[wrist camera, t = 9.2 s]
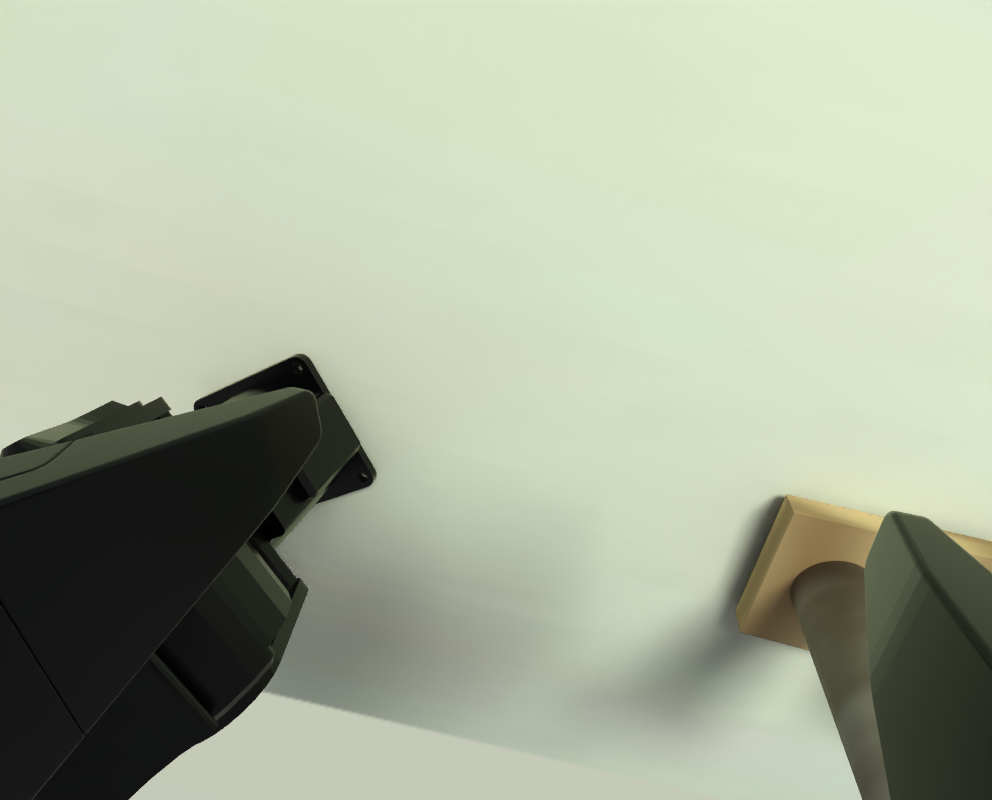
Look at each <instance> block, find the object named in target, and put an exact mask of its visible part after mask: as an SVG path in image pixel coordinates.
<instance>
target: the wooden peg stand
mask: <svg viewBox="0 0 992 800" xmlns="http://www.w3.org/2000/svg"><path fill="white" fill-rule="evenodd" d="M883 519H884V517H882V516H878V515H873V514H869V513H865V512H860V511H856V510H852V509H847V508H843V507H839V506H834V505H830V504H826V503H821V502H817V501H812V500H808V499H804V498H799V497H795V496H791V495H786V496H785V498H784V501H783V503H782V505H781V508H780V510H779V512H778V514H777V517H776V519H775V521H774V523H773V526H772V528H771V530H770V533H769V535H768V537H767V539H766V542H765V544H764V546H763V549H762V551H761V553H760V555H759V558H758V560H757V562H756V565H755V567H754V569H753V571H752V574H751V576H750V578H749V581H748V583H747V585H746V587H745V590H744V592H743V594H742V596H741V599H740V601H739V603H738V606H737V608H736V610H735V612H736V616H737V621H738V625H739V629H740V632H741V633H745V634H749V635H752V636H756V637H760V638H764V639H768V640H772V641H775V642H779V643H783V644H787V645H791V646H794V647H798V648H802V649H806V650H809V651H810V653H811V656H812V659H813V662H814V665H815V667H816V670H817V673H818V676H819V679H820V682H821V684H822V687H823V690H824V693H825V696H826V698H827V701H828V704H829V707H830V710H831V712H832V715H833V718H834V721H835V724H836V727H837V729H838V732H839V735H840V738H841V741H842V743H843V746H844V749H845V752H846V755H847V757H848V760H849V763H850V766H851V769H852V772H853V774H854V777H855V780H856V783H857V786H858V788H859V791H860V794H861V797H862V800H890V797H889V791H888V785H887V780H886V774H885V769H884V763H883V757H882V752H881V746H880V740H879V735H878V729H877V723H876V718H875V712H874V707H873V701H872V694H871V688H870V681H869V667H868V646H867V623H866V599H865V564H866V559H867V556H868V554H869V551H870V549H871V547H872V544H873V542H874V539H875V537H876V535H877V532H878V530H879V528H880V525H881V523H882V521H883ZM942 531H943V530H942ZM943 532H945V533H946V534H947V535H948V536H949V537H951V538H952V539H953V540H954V541H955V542H956V543H958V544H959V545H960V546H961V547H962V548H963V549H965V550H966V551H967V552H968V553H969V554H971V555H972V556H973V557H974V558H975V559H976V560H978V561H979V562H980V563H981V564H982V565H983V566H985V567H986V568H987V569H988V570H989V571H991V572H992V542H991V541H987V540H982V539H978V538H974V537H969V536H965V535H961V534H956V533H952V532H948V531H943Z"/></svg>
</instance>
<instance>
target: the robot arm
mask: <svg viewBox="0 0 992 800" xmlns="http://www.w3.org/2000/svg"><path fill="white" fill-rule="evenodd" d="M296 363H299V364H300V365H301V366H302V368H303V371H302V370H300V369H299V368H298V367H297V364H296ZM205 406H206V407H207V408H205ZM170 410H171V408H170V407H169V406H168V404H167V403H166V402H165V401H164V399H163V398H162V397H160V398H158V399H156V400H154V401H152V402H150V403H148V404H146V405H144V406H143V405H142V403H141V402H140V401H138V402H136V403H134V404H132V405H130V406H126V405H123V404H120V403H117V402H115V401H111V402H109V403H107V404H105V405H103V406H101V407H99V408H97V409H95V410H93V411H91V412H89V413H86V414H84V415H82V416H80V417H78V418H76V419H74V420H72V421H69V422H67V423H64V424H61V425H59V426H56V427H53V428H50V429H47V430H44V431H41V432H39V433H36V434H33V435H30V436H27V437H25V438H23V439H20V440H18V441H16V442H15V443H13V444H11V445H9V446H7V447H6V448H4V449H2V451H1V455H0V800H129V799H130V798H131V797H132V796H133V795H134V794H135V793H136V792H137V791H138V790H139V789H140V788H141V787H142V786H143V785H144V784H146V783H147V782H148V781H149V780H150V779H151V778H152V777H153V776H155V775H156V774H157V773H158V772H160V771H161V770H162V769H163V768H165V766H167V765H168V764H169V763H171V762H172V761H173V760H174V759H175V758H177V757H178V756H179V755H181V754H182V753H184V752H185V751H187V750H188V749H190V748H191V747H192V746H194V745H196V744H198V743H201V742H202V741H204V740H206V739H208V738H209V737H211V736H213V735H214V734H216V733H217V732H218V731H220V730H221V729H223V728H224V727H225V726H227V725H228V724H229V723H231V722H232V721H233V720H234V719H235V718H236V717H238V716H239V715H240V714H241V713H242V712H243V711H244V710H245V709H246V708H247V707H248V706H249V705H250V704H251V703H252V702H253V701H254V700H255V699H256V698H257V697H258V695H259V694H260V693H261V692H262V691H263V689H264V688H265V687H266V686H267V684H268V683H269V681H270V680H271V678H272V677H273V675H274V674H275V672H276V670H277V668H278V666H279V664H280V662H281V659H282V656H283V654H284V651H285V649H286V646H287V644H288V641H289V638H290V636H291V633H292V631H293V628H294V626H295V623H296V620H297V618H298V615H299V613H300V610H301V608H302V605H303V602H304V600H305V597H306V595H307V592H308V588H307V587H306V585H305V584H304V583H303V581H302V580H301V579H300V578H296V577H295V576H294V574H293V573H292V572H291V570H290V569H289V568H288V567H287V565H286V564H285V563H284V561H283V560H282V559H281V557H280V556H279V555H278V553H277V552H276V551H275V549H276V548H277V547H278V546H279V545H280V543H281V542H282V541H283V540H284V539H285V538H286V537H287V535H288V534H289V533H290V532H291V531H292V530H293V529H294V528H295V526H296V525H297V524H298V523H299V522H300V521H301V520H302V518H303V517H304V516H305V515H306V514H307V513H308V512H309V510H310V509H311V508H312V507H313V506H314V505H315V504H317V503H320V502H323V501H326V500H329V499H332V498H335V497H338V496H341V495H344V494H347V493H350V492H353V491H356V490H359V489H362V488H365V487H368V486H370V485H371V484H372V483H373V481H374V480H375V478H376V474H377V473H376V471H375V469H374V467H373V465H372V463H371V462H370V460H369V458H368V457H367V455H366V453H365V452H364V450H363V448H362V446H361V445H360V441H359V440H358V438H357V436H356V435H355V433H354V431H353V429H352V428H351V426H350V424H349V423H348V421H347V419H346V418H345V416H344V414H343V412H342V411H341V409H340V407H339V406H338V404H337V402H336V401H335V399H334V397H333V396H332V395H331V394H330V392H329V390H328V389H327V387H326V385H325V383H324V382H323V380H322V378H321V377H320V375H319V373H318V372H317V370H316V368H315V366H314V365H313V363H312V361H311V360H310V359H309V358H308V357H307V356H306V355H304V354H296V355H293V356H291V357H289V358H287V359H285V360H283V361H280V362H278V363H276V364H274V365H272V366H269V367H267V368H265V369H263V370H261V371H259V372H256V373H254V374H252V375H250V376H248V377H245V378H243V379H241V380H239V381H237V382H235V383H232V384H230V385H228V386H226V387H224V388H221V389H219V390H217V391H215V392H213V393H210V394H208V395H206V396H204V397H202V398H200V399H199V400H197V401H196V402H195V403H194V410H195V411H192V412H187V413H183V414H179V415H175V416H172V415H171V414H170V412H169V411H170ZM361 472H363V473H365V474H366V475H367V477H368V478H366V477H364V476H363V475H362V474H361ZM865 599H866V623H867V646H868V667H869V681H870V688H871V694H872V701H873V707H874V712H875V718H876V723H877V729H878V735H879V740H880V746H881V752H882V757H883V763H884V769H885V774H886V780H887V785H888V791H889V797H890V800H992V572H991V571H989V570H988V569H987V568H986V567H985V566H983V565H982V564H981V563H980V562H979V561H978V560H976V559H975V558H974V557H973V556H972V555H971V554H969V553H968V552H967V551H966V550H965V549H963V548H962V547H961V546H960V545H959V544H958V543H956V542H955V541H954V540H953V539H952V538H951V537H949V536H948V535H947V534H946V533H945V532H943V531H942V530H941V529H940V528H939V527H938V526H936V525H935V524H934V523H933V522H932V521H930V520H929V519H928V518H925V517H922V516H917V515H912V514H907V513H902V512H897V511H891V512H889V513H888V514H887V515H886V516H885V517H884V519H883V521H882V523H881V525H880V528H879V530H878V532H877V535H876V537H875V539H874V542H873V544H872V547H871V549H870V551H869V554H868V556H867V559H866V564H865Z"/></svg>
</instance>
